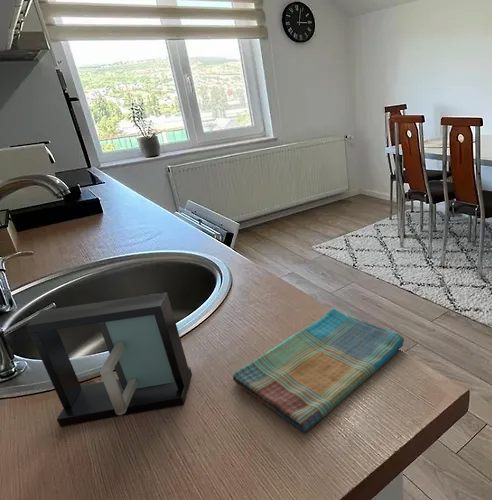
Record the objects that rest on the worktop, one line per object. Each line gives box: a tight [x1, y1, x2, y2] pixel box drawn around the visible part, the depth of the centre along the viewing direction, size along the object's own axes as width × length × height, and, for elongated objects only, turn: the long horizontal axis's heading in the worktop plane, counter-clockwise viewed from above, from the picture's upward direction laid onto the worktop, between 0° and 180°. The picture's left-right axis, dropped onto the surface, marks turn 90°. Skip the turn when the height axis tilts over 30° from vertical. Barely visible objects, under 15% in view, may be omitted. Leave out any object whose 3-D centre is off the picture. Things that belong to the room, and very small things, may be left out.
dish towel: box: [232, 307, 405, 433], centre depth 67 cm, size 17×23×2 cm
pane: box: [98, 314, 175, 415], centre depth 57 cm, size 7×8×12 cm
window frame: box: [25, 292, 193, 428], centre depth 60 cm, size 17×7×16 cm, turn 100°
